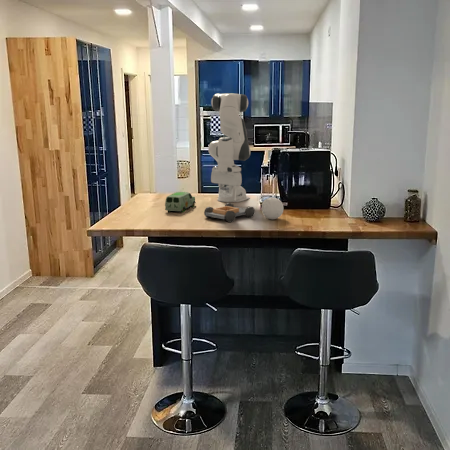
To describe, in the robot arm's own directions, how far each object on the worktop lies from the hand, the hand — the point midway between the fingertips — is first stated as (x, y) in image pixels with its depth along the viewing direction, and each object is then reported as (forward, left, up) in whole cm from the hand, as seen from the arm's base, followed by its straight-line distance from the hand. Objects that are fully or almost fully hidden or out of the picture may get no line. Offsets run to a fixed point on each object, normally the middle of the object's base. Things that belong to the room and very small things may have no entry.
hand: (225, 192), depth 279 cm
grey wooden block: (0, 0, -2) cm, 2 cm away
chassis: (-3, 0, -14) cm, 15 cm away
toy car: (0, -38, -15) cm, 41 cm away
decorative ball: (-16, +20, -15) cm, 29 cm away
